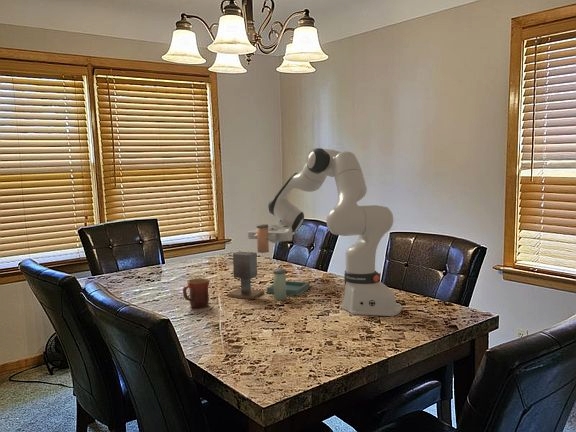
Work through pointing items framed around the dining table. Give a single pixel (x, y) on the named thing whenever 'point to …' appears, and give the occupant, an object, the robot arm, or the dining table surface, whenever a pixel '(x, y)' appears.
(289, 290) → the tray
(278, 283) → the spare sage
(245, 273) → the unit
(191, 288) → the mug
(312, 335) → the dining table surface
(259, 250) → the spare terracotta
